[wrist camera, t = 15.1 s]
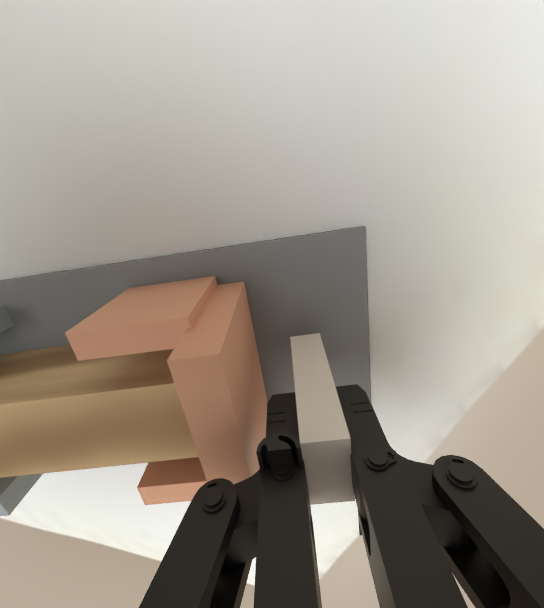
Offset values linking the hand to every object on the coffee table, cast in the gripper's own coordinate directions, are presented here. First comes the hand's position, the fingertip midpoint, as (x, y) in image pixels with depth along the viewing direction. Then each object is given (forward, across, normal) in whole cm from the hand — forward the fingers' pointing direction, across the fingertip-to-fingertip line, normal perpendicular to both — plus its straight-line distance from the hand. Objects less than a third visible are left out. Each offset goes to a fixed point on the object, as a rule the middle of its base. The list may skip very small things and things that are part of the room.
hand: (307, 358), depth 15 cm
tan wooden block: (+2, -12, 0) cm, 12 cm away
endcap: (+1, -6, 0) cm, 6 cm away
